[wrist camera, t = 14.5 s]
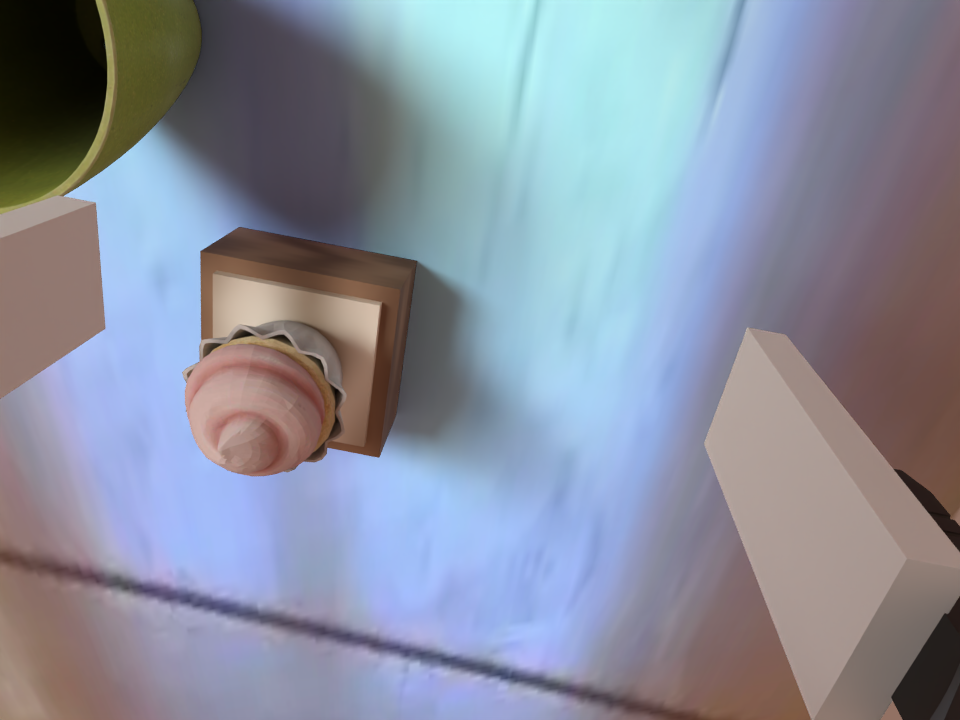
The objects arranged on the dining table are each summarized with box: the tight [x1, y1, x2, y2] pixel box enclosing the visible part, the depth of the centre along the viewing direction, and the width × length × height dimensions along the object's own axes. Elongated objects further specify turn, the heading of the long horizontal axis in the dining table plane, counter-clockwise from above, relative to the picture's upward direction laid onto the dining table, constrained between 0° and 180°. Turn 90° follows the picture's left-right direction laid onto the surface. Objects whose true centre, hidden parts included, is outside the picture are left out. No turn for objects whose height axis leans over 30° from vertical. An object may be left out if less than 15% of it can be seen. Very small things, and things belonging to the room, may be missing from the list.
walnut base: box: [200, 227, 417, 457], centre depth 45 cm, size 12×12×6 cm
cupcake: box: [182, 320, 347, 476], centre depth 38 cm, size 9×9×10 cm
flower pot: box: [0, 0, 202, 214], centre depth 34 cm, size 15×15×16 cm
